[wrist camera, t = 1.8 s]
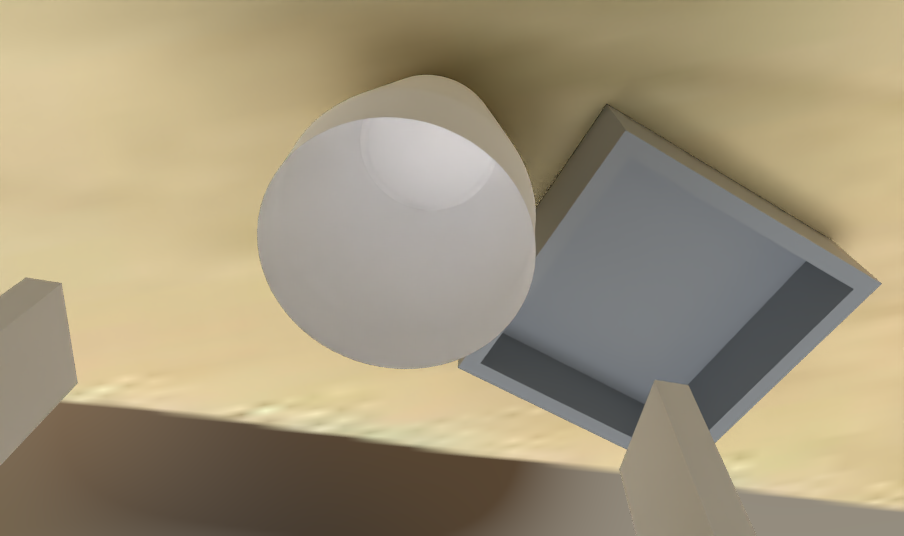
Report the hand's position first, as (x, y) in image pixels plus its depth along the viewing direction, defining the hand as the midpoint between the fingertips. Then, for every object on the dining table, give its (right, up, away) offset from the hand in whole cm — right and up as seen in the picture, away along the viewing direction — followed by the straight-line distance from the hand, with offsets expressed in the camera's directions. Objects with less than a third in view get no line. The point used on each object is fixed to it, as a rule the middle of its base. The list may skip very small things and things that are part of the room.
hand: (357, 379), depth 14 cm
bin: (+12, +2, +19) cm, 22 cm away
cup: (+1, +9, +16) cm, 18 cm away
